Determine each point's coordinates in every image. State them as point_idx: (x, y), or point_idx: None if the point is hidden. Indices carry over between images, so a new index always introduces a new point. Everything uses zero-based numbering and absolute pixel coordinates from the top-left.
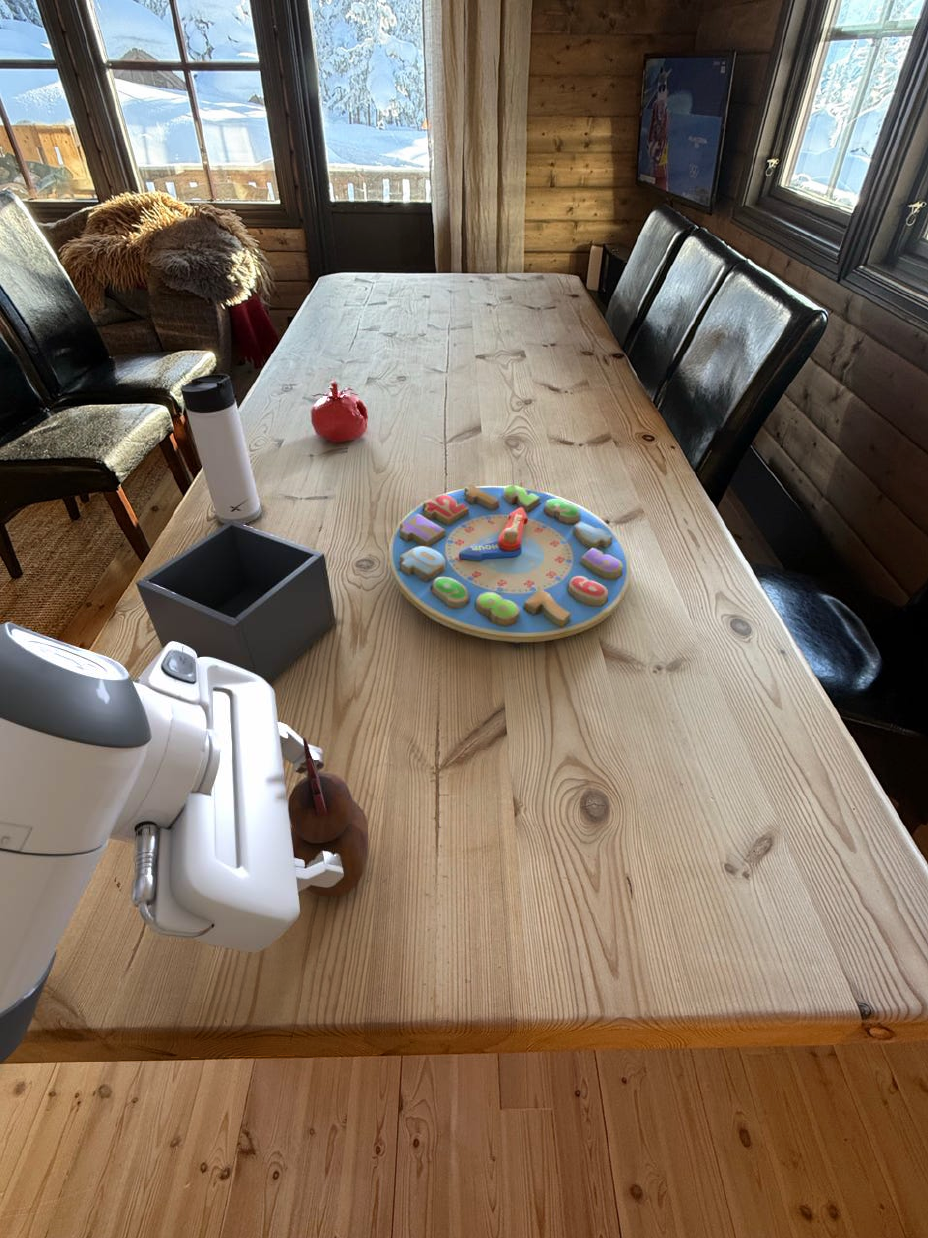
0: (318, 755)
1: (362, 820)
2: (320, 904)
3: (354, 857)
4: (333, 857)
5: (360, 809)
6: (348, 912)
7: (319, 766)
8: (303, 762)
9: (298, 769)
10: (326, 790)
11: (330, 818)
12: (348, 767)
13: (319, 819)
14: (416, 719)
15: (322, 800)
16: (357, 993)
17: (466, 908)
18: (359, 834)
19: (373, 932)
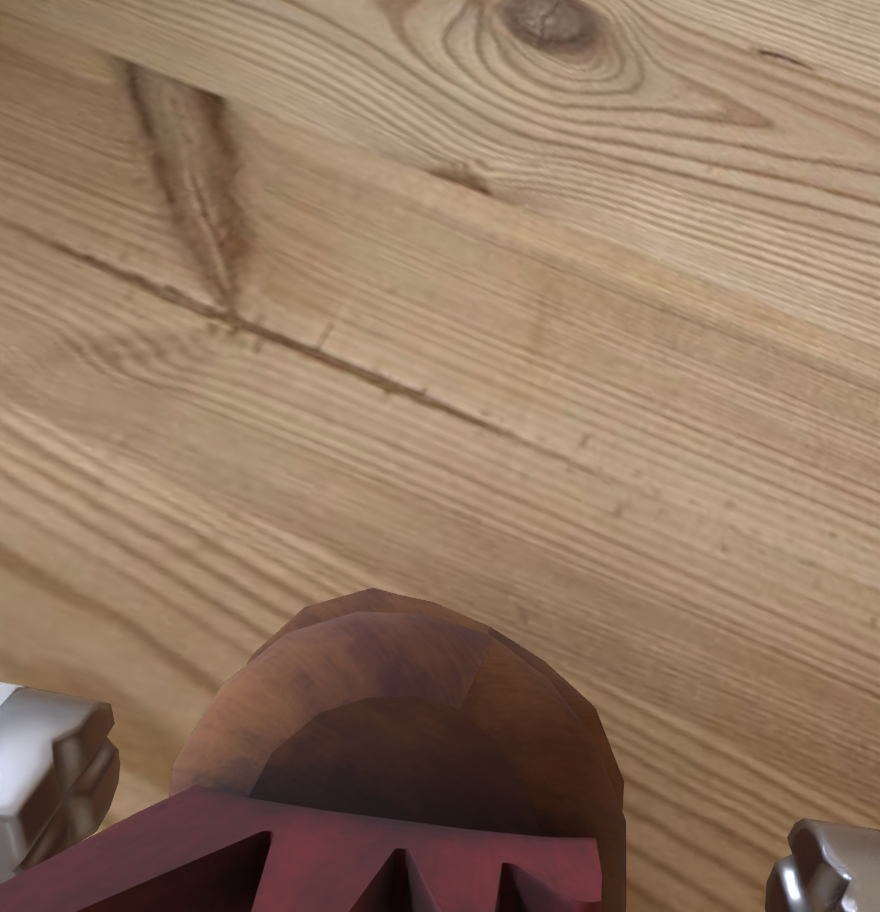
0: (21, 720)
1: (434, 608)
2: None
3: (588, 705)
4: (877, 884)
5: (373, 597)
6: None
7: (97, 735)
8: (21, 854)
9: None
10: (407, 780)
11: (606, 815)
12: (47, 581)
13: (604, 907)
14: (3, 300)
15: (577, 874)
16: None
17: (700, 426)
18: (506, 645)
19: (674, 711)
